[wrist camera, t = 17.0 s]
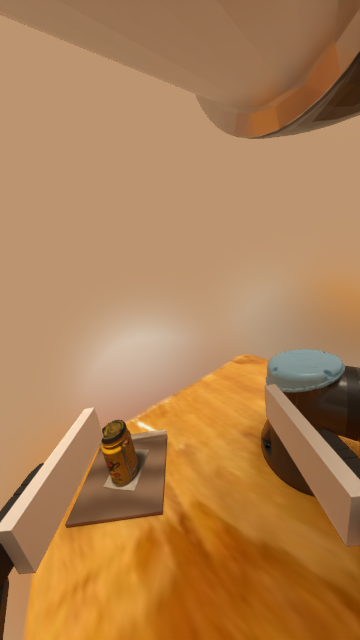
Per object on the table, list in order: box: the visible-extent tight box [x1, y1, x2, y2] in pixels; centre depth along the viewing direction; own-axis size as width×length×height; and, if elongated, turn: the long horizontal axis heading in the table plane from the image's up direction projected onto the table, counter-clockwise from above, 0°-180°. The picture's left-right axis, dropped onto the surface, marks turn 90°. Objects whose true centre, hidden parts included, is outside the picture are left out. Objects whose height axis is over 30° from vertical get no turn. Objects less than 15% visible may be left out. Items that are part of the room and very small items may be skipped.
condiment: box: [101, 420, 149, 491], centre depth 38 cm, size 7×8×12 cm
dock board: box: [65, 429, 167, 528], centre depth 39 cm, size 16×18×2 cm
